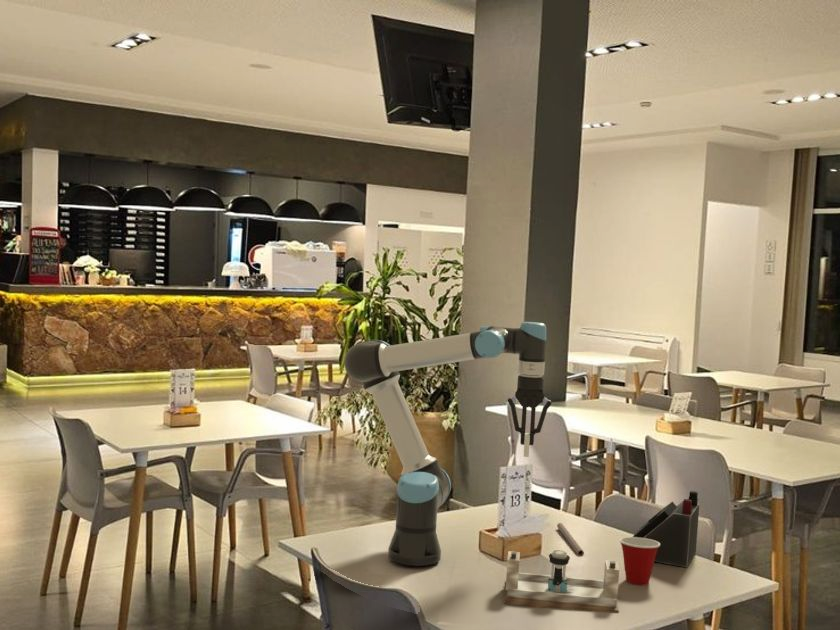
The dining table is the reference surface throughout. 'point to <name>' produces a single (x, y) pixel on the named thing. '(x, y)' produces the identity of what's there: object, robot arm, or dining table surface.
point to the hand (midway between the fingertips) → (526, 455)
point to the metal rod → (570, 539)
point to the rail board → (582, 597)
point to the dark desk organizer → (674, 531)
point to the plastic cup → (638, 558)
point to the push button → (558, 571)
